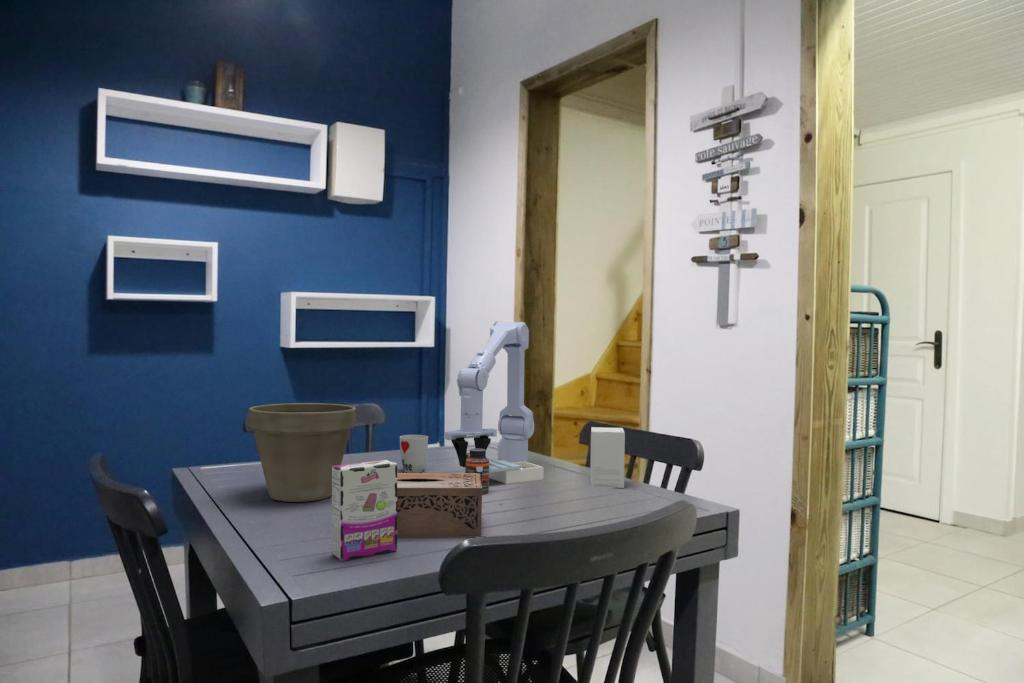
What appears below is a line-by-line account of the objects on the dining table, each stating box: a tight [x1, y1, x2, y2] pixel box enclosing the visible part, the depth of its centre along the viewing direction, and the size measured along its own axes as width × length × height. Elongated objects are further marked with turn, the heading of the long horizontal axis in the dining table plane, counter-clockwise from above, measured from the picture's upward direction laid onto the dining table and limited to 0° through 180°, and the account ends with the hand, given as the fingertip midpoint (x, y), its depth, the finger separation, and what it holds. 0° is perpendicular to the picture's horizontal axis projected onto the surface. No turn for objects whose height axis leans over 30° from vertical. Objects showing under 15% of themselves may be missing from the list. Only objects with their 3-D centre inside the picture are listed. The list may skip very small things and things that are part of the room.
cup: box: [399, 434, 429, 473], centre depth 205 cm, size 8×8×10 cm
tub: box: [489, 461, 545, 485], centre depth 196 cm, size 9×12×4 cm
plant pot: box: [248, 402, 357, 503], centre depth 174 cm, size 25×25×22 cm
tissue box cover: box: [397, 472, 483, 538], centre depth 149 cm, size 26×14×10 cm, turn 95°
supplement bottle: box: [464, 448, 490, 496], centre depth 179 cm, size 6×6×11 cm
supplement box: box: [589, 426, 626, 489], centre depth 194 cm, size 9×9×15 cm
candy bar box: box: [331, 459, 398, 562], centre depth 131 cm, size 11×5×16 cm, turn 126°
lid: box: [462, 452, 521, 472], centre depth 191 cm, size 10×14×4 cm
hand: (470, 465), depth 188 cm, fingers open, 4 cm apart
